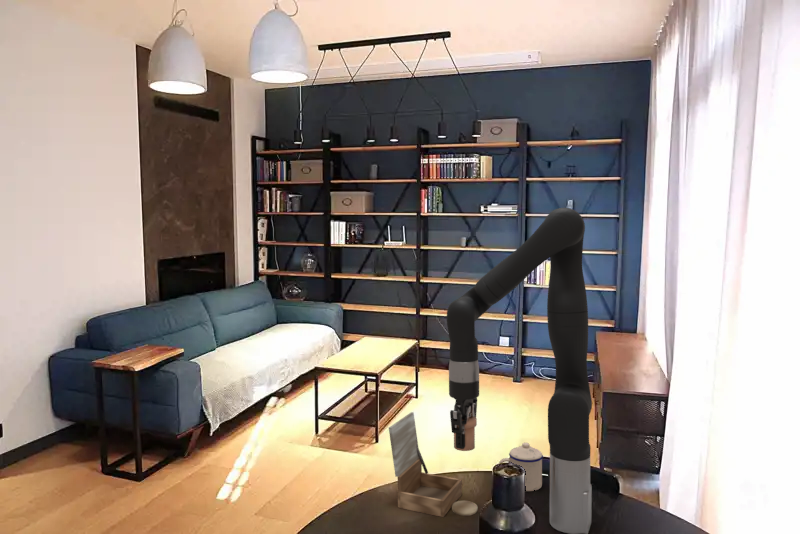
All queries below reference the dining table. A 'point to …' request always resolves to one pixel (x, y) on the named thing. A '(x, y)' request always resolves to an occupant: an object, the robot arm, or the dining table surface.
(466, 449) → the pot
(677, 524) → the dining table surface
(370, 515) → the dining table surface
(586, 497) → the robot arm
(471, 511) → the coaster
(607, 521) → the dining table surface
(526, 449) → the teacup with lid
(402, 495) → the cold frame
